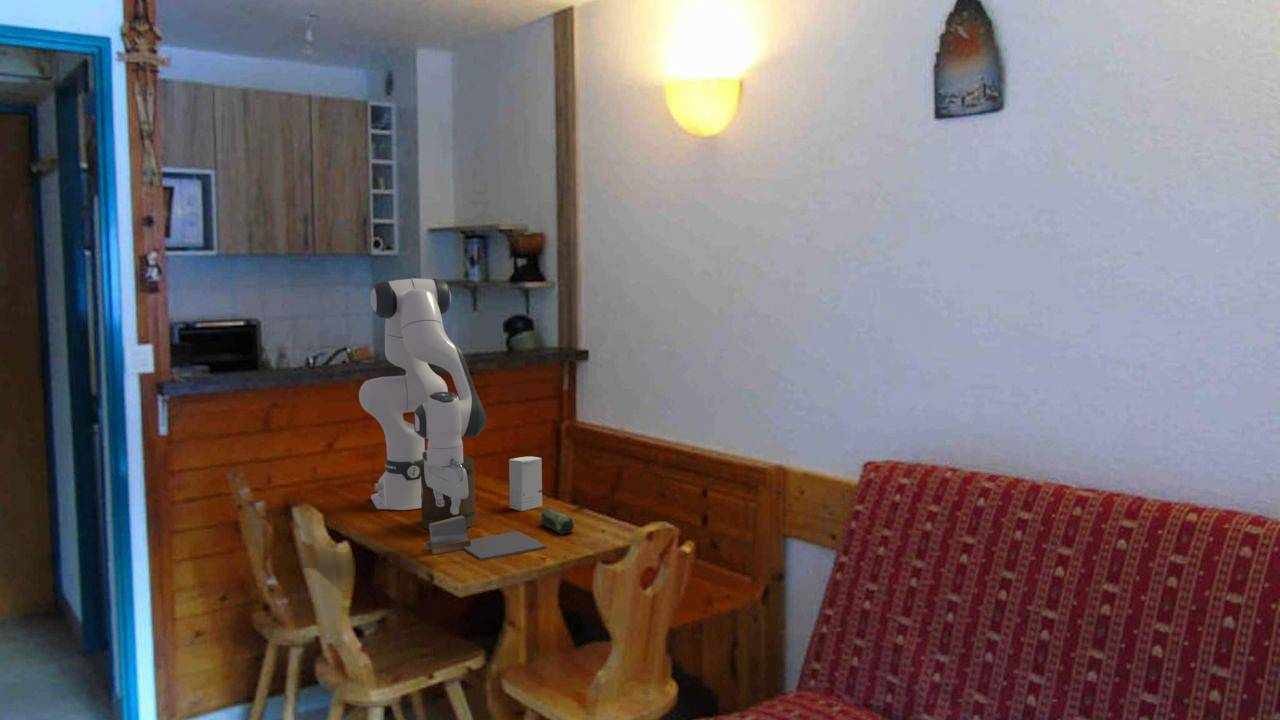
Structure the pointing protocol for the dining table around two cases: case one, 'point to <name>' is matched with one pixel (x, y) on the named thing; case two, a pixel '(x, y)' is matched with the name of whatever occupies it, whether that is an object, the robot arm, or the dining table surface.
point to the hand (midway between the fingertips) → (447, 510)
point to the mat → (502, 545)
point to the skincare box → (525, 483)
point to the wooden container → (448, 500)
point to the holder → (447, 546)
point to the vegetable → (557, 521)
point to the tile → (448, 530)
